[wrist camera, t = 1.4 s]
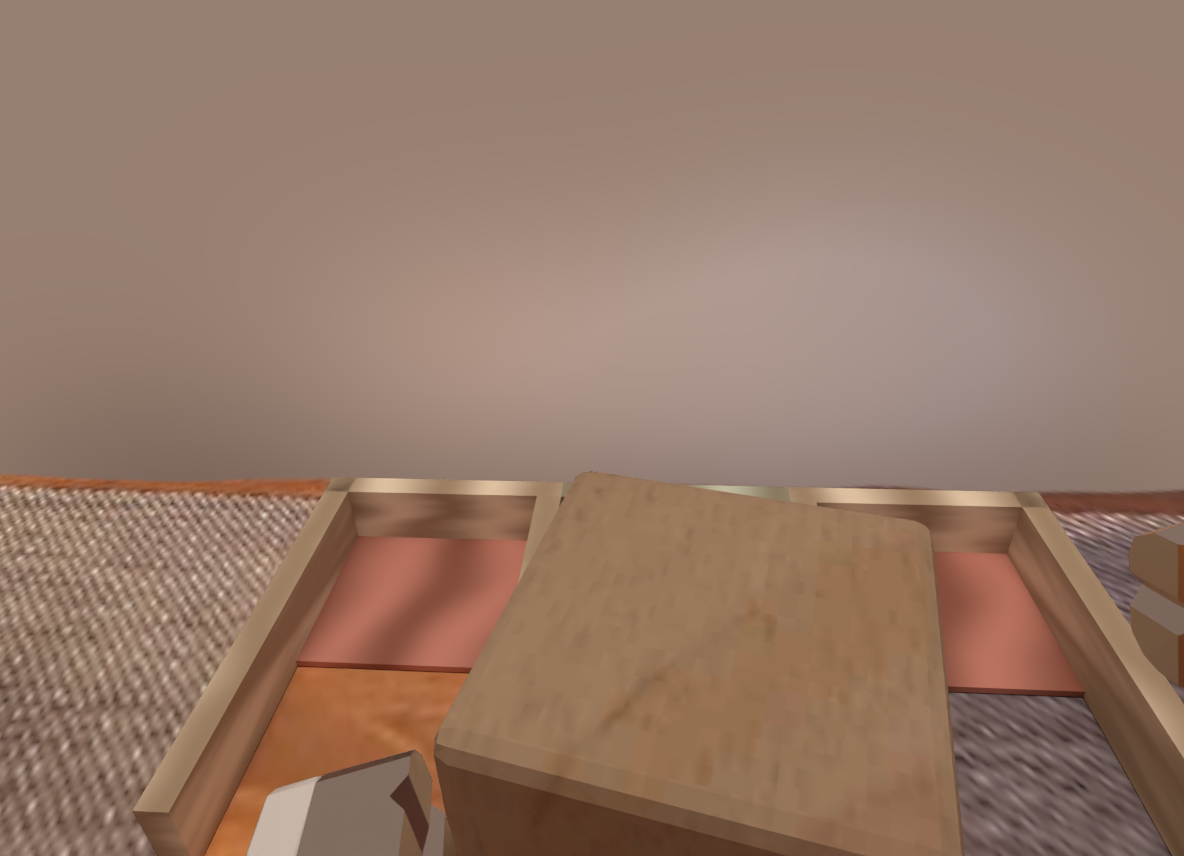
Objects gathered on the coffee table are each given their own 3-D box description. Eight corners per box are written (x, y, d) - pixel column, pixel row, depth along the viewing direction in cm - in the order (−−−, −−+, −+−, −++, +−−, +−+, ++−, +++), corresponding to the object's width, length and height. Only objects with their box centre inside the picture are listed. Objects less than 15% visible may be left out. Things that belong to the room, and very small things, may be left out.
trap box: (163, 866, 34) (132, 810, 31) (344, 525, 53) (333, 477, 51) (1254, 931, 30) (1300, 874, 28) (1020, 543, 50) (1038, 492, 48)
